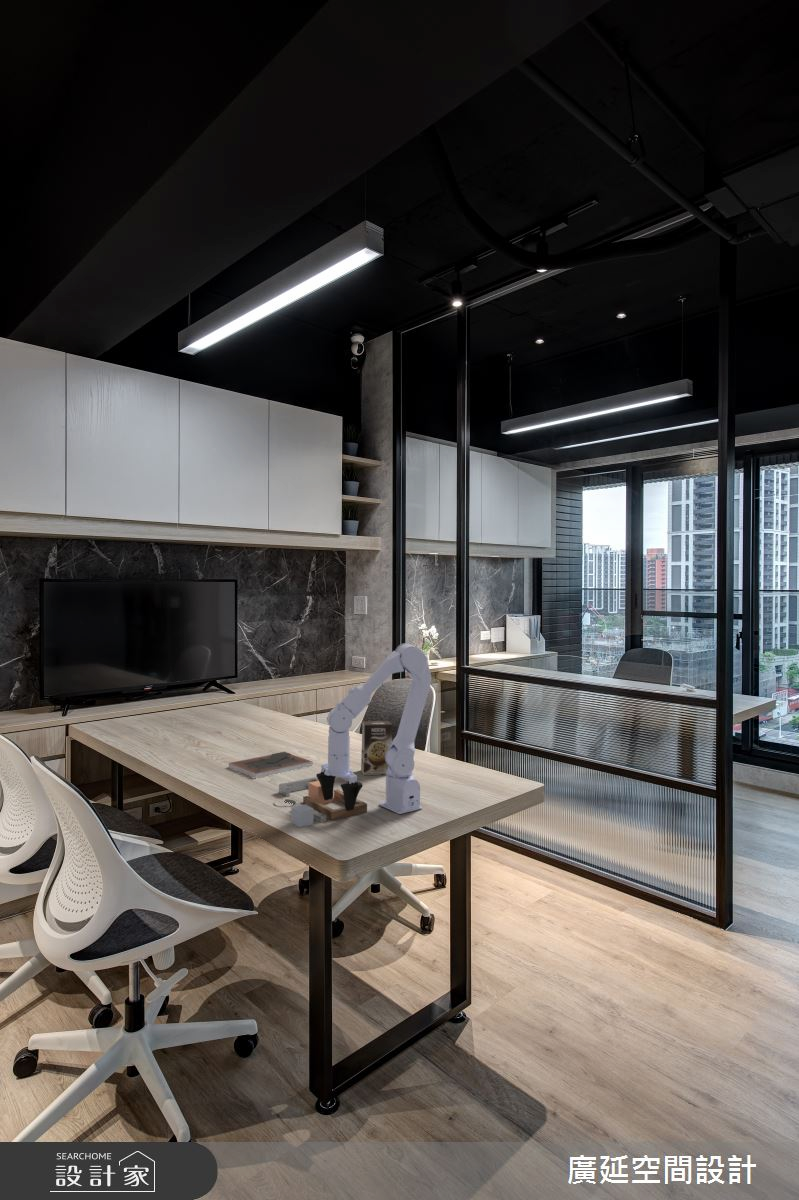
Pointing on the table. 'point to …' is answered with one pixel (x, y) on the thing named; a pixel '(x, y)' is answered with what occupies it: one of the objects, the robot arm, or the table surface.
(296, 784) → the rail
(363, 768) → the coffee box
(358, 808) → the bay
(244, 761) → the picture frame
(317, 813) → the steel bar
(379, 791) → the table surface
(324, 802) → the cube
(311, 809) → the slate block
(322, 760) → the table surface
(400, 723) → the robot arm
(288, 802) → the hole disc
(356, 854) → the table surface
